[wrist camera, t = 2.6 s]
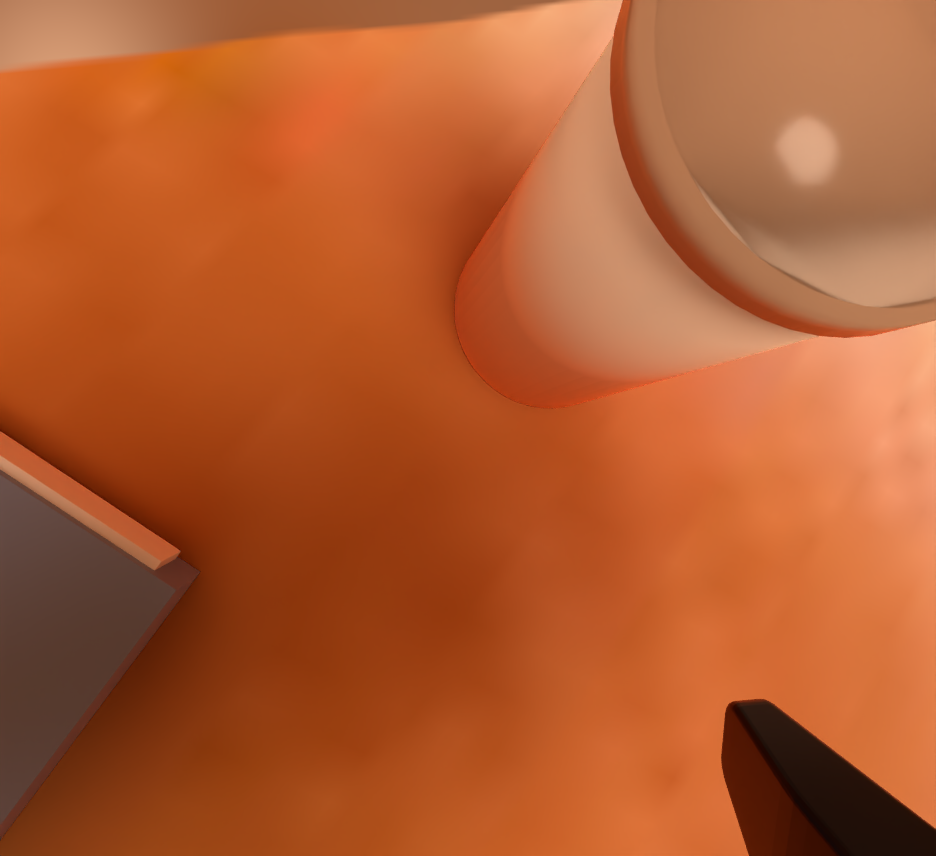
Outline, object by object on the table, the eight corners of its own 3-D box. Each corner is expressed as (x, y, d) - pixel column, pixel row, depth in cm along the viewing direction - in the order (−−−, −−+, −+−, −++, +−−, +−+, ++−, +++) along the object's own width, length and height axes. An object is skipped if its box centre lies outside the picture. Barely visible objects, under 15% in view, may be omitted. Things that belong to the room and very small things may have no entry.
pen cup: (680, 332, 22) (1160, 138, 9) (536, 457, 21) (860, 430, 8) (559, 174, 22) (889, -256, 9) (404, 293, 20) (528, -6, 8)
